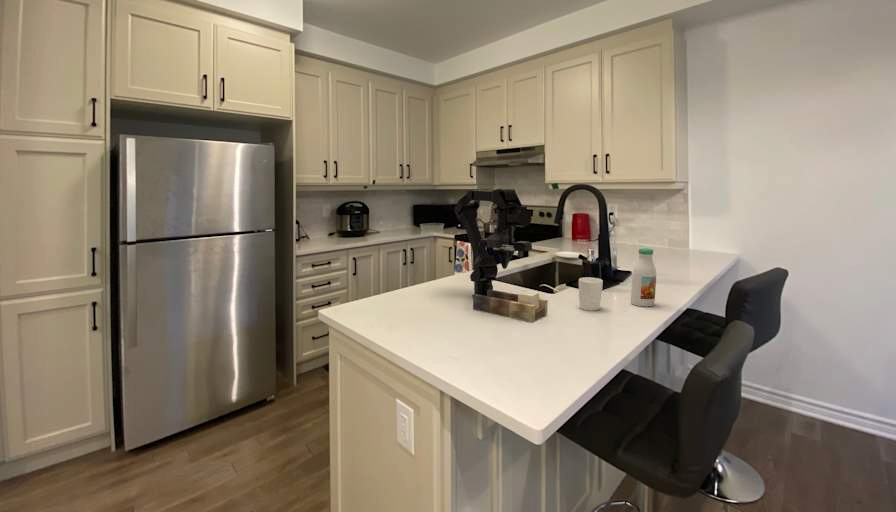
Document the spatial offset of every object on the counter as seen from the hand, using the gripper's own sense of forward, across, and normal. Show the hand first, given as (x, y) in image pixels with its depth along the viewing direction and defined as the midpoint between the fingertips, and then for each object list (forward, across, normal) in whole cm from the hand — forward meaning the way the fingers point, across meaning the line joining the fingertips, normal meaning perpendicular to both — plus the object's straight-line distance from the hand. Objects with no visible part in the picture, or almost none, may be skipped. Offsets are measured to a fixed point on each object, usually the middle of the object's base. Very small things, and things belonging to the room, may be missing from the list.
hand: (504, 268), depth 150 cm
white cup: (+13, +26, +14) cm, 32 cm away
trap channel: (+13, +6, -7) cm, 16 cm away
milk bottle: (+13, +39, +30) cm, 51 cm away
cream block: (+10, +14, -7) cm, 19 cm away
